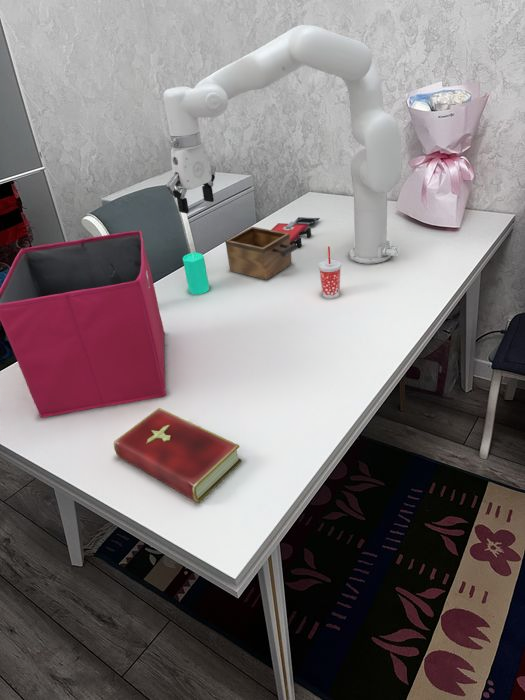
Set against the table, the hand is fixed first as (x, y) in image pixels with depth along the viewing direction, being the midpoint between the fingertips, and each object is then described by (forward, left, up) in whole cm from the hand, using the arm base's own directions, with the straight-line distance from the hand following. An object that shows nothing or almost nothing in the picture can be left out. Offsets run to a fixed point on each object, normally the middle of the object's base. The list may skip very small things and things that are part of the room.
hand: (196, 206), depth 150 cm
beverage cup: (-34, -12, -25) cm, 44 cm away
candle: (+2, +3, -25) cm, 25 cm away
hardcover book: (-44, +56, -25) cm, 75 cm away
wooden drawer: (-8, -17, -24) cm, 31 cm away
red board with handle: (+2, -42, -25) cm, 49 cm away
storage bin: (-9, +45, -25) cm, 52 cm away
